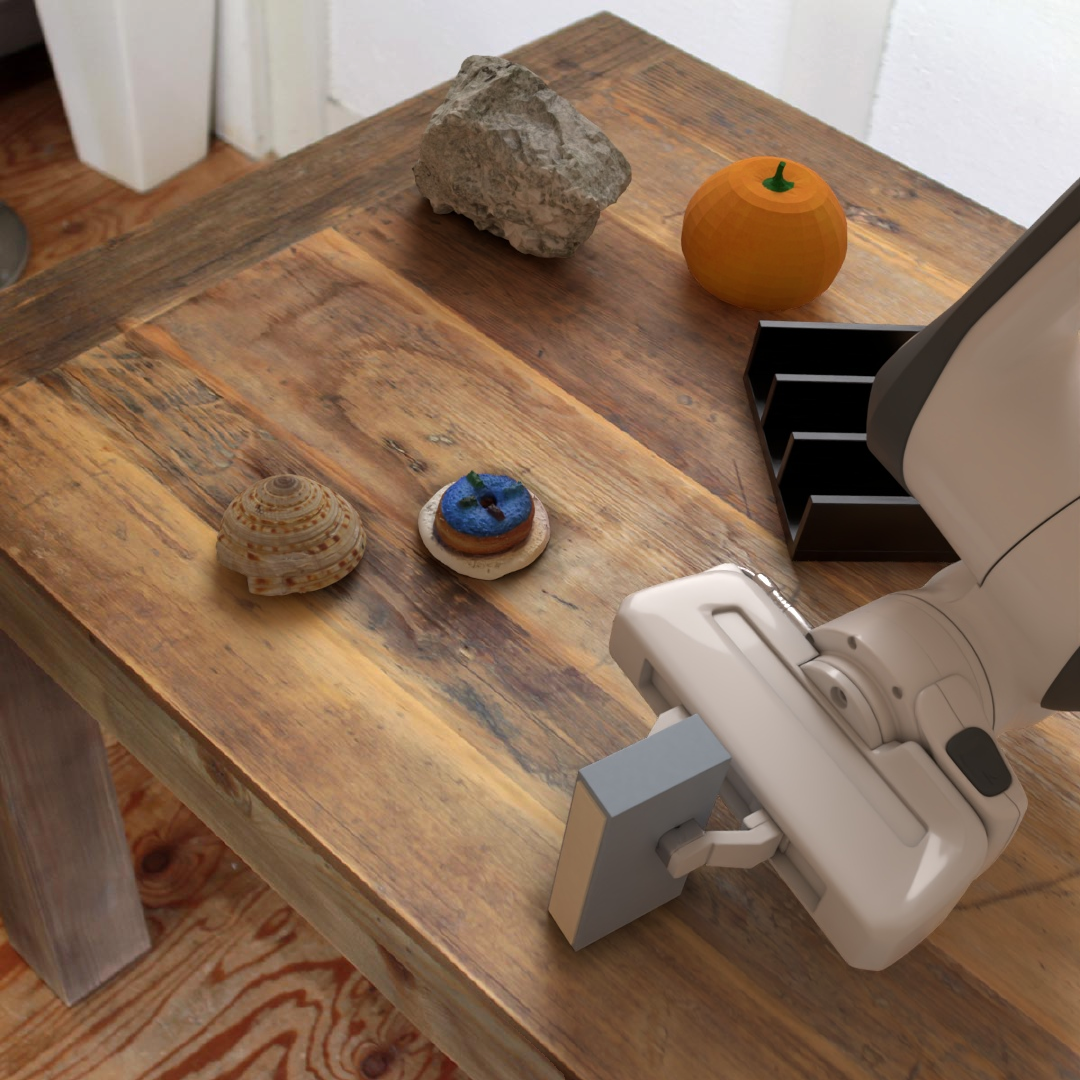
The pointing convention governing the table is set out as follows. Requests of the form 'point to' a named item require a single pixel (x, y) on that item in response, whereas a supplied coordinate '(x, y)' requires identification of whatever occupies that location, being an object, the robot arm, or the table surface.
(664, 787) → the grey rectangular block
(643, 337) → the table surface
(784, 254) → the fruit
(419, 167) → the stone
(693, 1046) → the table surface
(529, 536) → the dessert
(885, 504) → the rack
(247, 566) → the seashell
